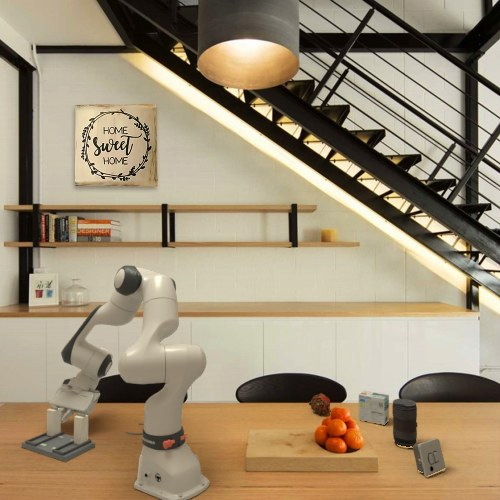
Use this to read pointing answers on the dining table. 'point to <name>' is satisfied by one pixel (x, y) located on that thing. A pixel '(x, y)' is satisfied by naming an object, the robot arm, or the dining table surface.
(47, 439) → the grey rectangular board
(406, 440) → the camera lens
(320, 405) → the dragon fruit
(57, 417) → the tab far
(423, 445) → the electrical switch
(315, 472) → the dining table surface
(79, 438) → the tab near
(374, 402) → the light bulb box
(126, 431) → the pliers
